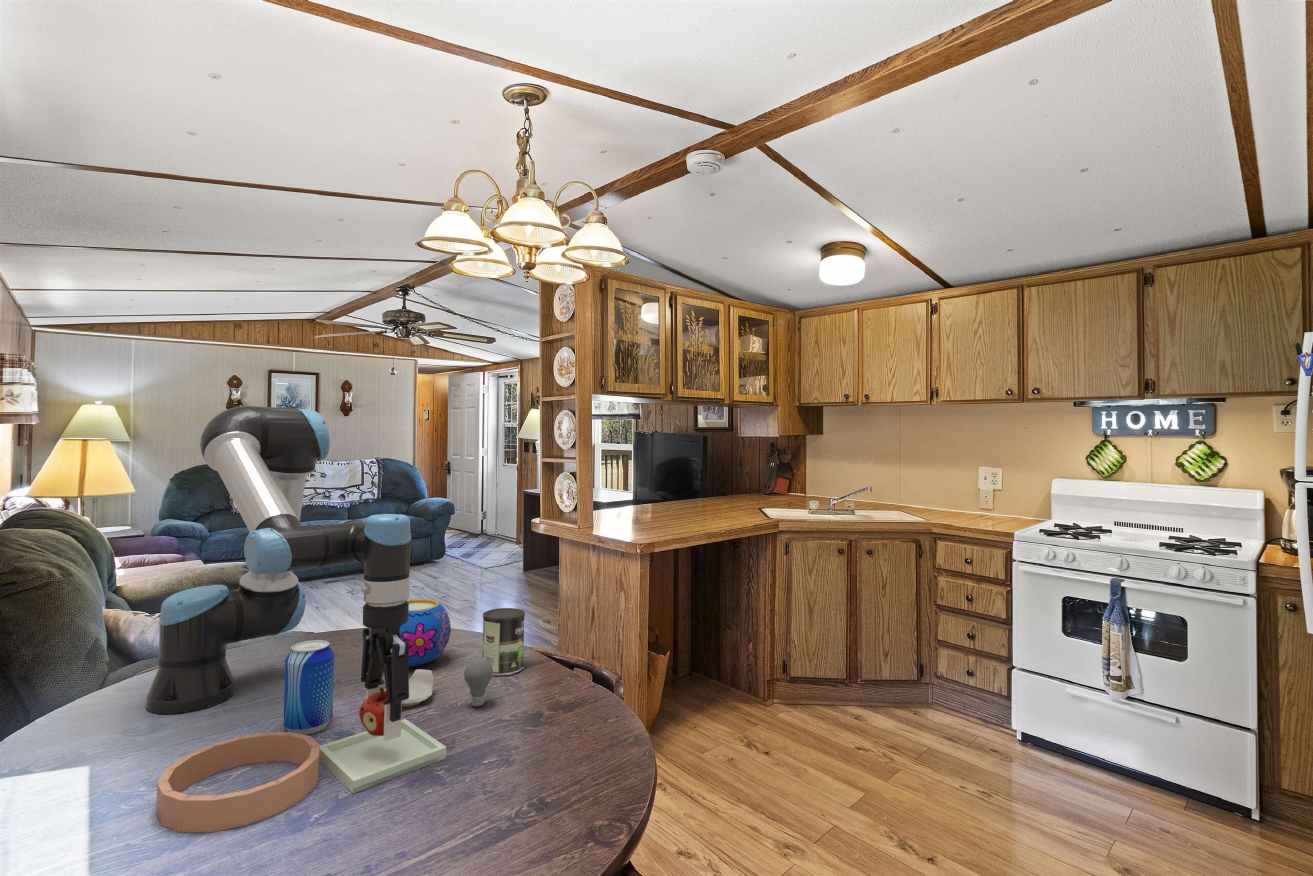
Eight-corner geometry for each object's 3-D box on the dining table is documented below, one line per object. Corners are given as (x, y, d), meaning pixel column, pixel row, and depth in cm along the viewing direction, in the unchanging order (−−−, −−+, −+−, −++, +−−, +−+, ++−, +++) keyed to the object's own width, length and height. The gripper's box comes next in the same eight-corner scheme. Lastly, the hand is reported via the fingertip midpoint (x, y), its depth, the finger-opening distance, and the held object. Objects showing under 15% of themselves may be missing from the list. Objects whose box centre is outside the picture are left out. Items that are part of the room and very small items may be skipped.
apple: (366, 746, 105) (367, 687, 105) (354, 732, 110) (355, 675, 111) (411, 733, 110) (413, 676, 110) (398, 720, 115) (399, 666, 116)
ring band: (146, 790, 99) (147, 762, 99) (294, 745, 114) (294, 721, 114) (173, 852, 84) (174, 819, 84) (338, 791, 100) (339, 763, 100)
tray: (317, 758, 110) (317, 746, 110) (405, 729, 122) (405, 719, 122) (353, 793, 99) (353, 781, 99) (446, 758, 111) (446, 747, 111)
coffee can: (527, 662, 160) (528, 608, 161) (518, 677, 150) (519, 619, 150) (488, 661, 161) (489, 607, 161) (475, 676, 150) (477, 618, 150)
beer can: (310, 739, 117) (313, 654, 117) (272, 734, 118) (275, 650, 119) (341, 720, 125) (344, 640, 125) (305, 715, 127) (308, 637, 127)
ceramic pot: (388, 652, 166) (389, 596, 166) (456, 651, 168) (457, 596, 168) (364, 676, 148) (366, 613, 149) (441, 675, 150) (442, 613, 150)
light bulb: (476, 714, 129) (477, 665, 129) (457, 707, 132) (458, 660, 133) (498, 704, 134) (499, 657, 134) (478, 697, 138) (480, 652, 138)
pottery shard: (377, 714, 128) (378, 690, 128) (385, 693, 139) (385, 671, 139) (430, 708, 131) (431, 685, 131) (434, 689, 142) (434, 667, 142)
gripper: (342, 595, 115) (339, 720, 114) (389, 616, 101) (386, 758, 101) (383, 589, 120) (380, 708, 120) (433, 608, 107) (429, 742, 106)
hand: (382, 731), depth 110 cm, fingers closed on apple, 7 cm apart
